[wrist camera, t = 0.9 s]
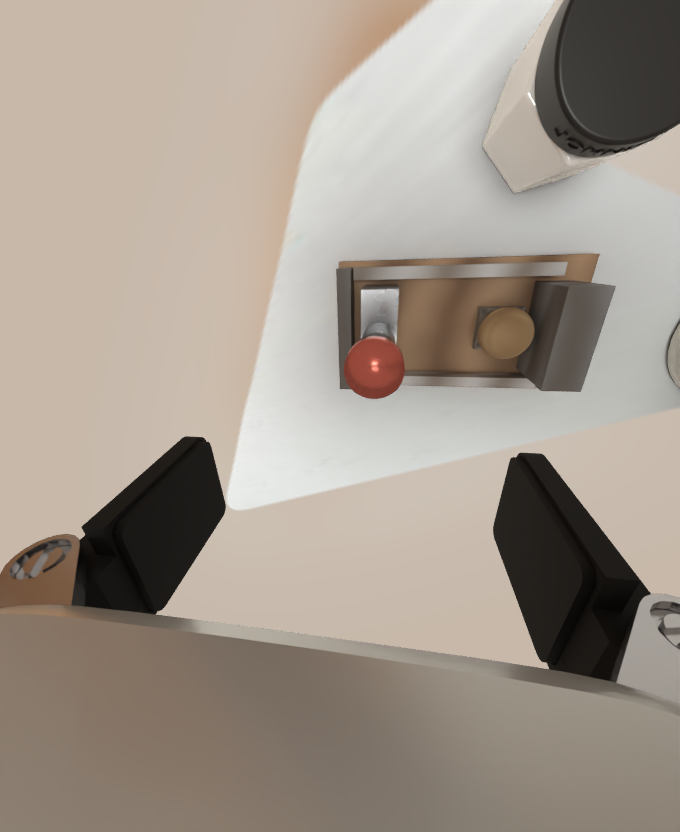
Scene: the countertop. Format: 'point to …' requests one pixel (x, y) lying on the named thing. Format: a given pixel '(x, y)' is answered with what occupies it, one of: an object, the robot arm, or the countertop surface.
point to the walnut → (506, 333)
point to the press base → (483, 317)
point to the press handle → (376, 345)
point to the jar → (587, 89)
